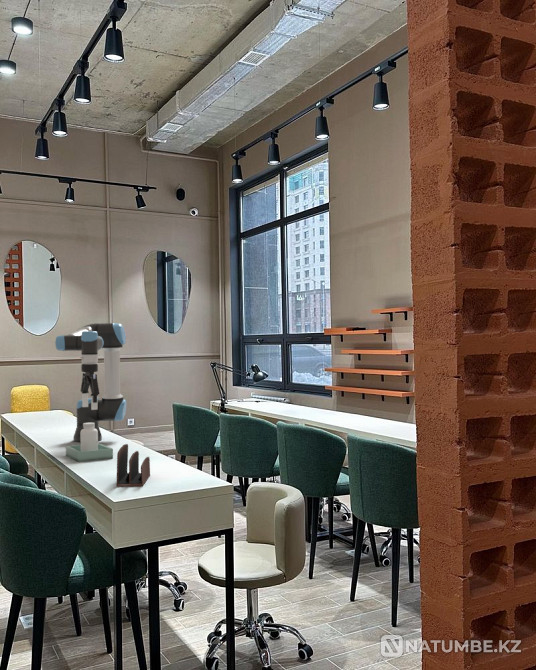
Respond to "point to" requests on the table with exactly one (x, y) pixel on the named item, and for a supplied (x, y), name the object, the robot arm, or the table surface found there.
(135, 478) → the letter holder
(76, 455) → the box
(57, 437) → the table surface
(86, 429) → the pill bottle
